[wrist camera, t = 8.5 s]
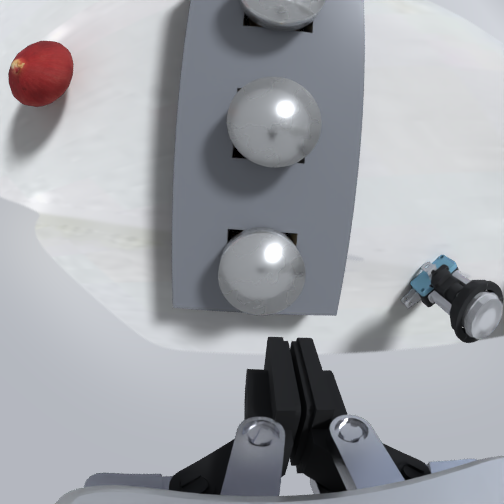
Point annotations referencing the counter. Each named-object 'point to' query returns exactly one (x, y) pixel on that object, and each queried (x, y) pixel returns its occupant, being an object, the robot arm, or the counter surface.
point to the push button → (458, 298)
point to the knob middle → (274, 122)
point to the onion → (41, 73)
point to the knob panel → (257, 176)
